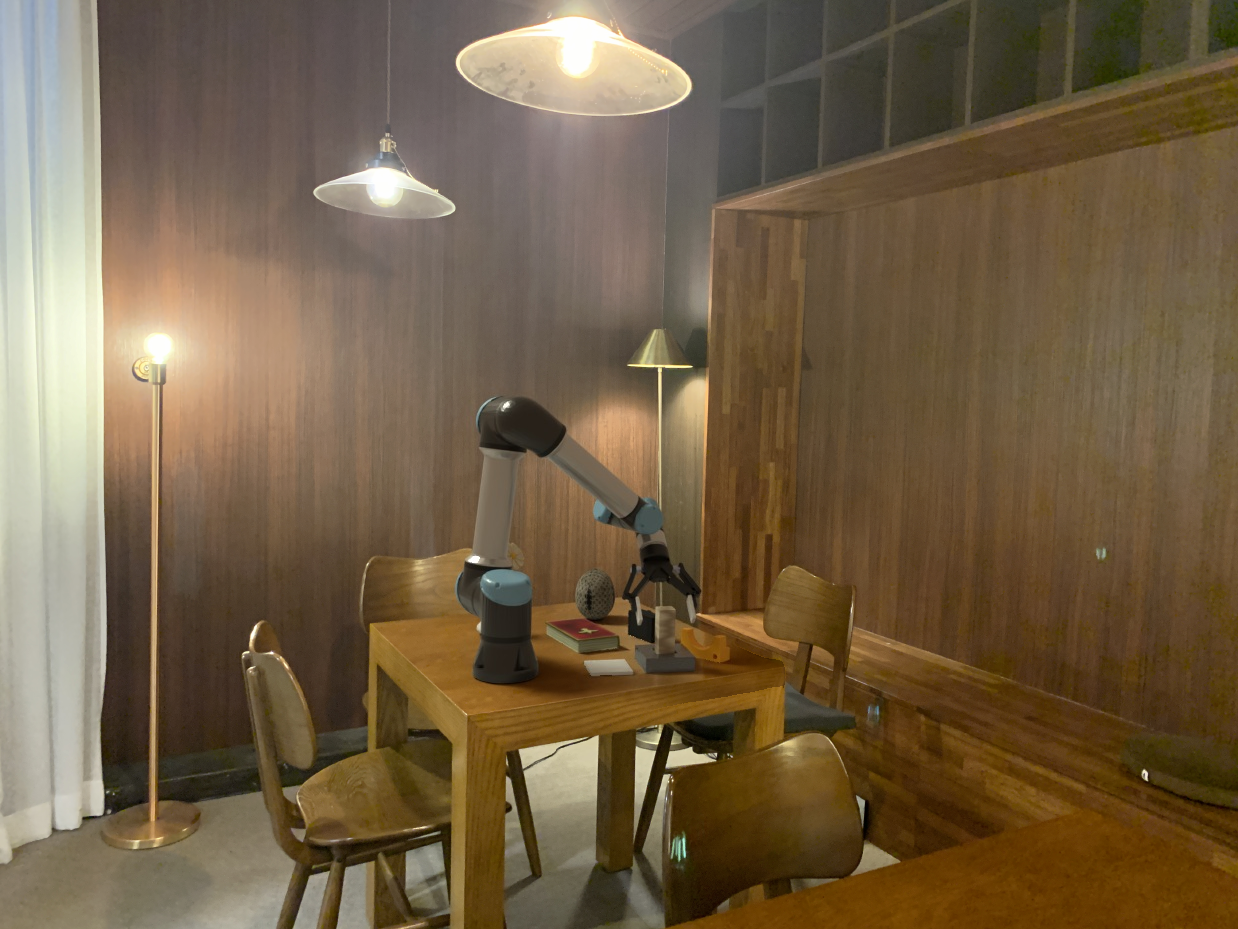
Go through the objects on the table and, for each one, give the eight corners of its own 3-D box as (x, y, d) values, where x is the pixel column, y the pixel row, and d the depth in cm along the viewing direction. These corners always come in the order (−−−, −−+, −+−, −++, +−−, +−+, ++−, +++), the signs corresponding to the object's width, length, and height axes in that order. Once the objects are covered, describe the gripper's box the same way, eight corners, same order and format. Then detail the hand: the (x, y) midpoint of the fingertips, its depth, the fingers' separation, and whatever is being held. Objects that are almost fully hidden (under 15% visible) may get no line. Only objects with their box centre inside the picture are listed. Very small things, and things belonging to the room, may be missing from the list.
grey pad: (590, 676, 207) (591, 673, 207) (584, 663, 217) (584, 660, 217) (633, 674, 209) (633, 671, 209) (624, 662, 219) (624, 659, 219)
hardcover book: (584, 631, 250) (584, 616, 250) (619, 650, 232) (620, 634, 231) (544, 635, 245) (545, 620, 244) (577, 655, 226) (578, 639, 226)
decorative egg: (619, 616, 266) (620, 566, 265) (607, 626, 255) (608, 573, 254) (582, 613, 269) (583, 563, 268) (568, 622, 258) (569, 570, 257)
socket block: (645, 673, 211) (646, 658, 211) (634, 658, 222) (635, 644, 222) (694, 671, 213) (695, 656, 213) (681, 657, 225) (681, 643, 225)
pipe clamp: (729, 660, 224) (730, 634, 223) (719, 663, 220) (720, 637, 220) (690, 650, 231) (691, 626, 231) (680, 654, 228) (681, 629, 228)
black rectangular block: (667, 640, 240) (667, 615, 240) (651, 643, 237) (652, 617, 237) (643, 632, 249) (644, 607, 248) (627, 635, 246) (628, 609, 245)
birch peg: (658, 667, 215) (659, 610, 215) (654, 662, 219) (655, 606, 218) (674, 667, 216) (675, 609, 215) (670, 662, 220) (671, 606, 219)
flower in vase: (486, 641, 236) (487, 547, 234) (469, 631, 245) (470, 541, 243) (531, 635, 242) (532, 544, 241) (513, 626, 252) (514, 538, 250)
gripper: (695, 557, 239) (711, 627, 226) (604, 559, 234) (615, 631, 221) (702, 541, 234) (719, 611, 220) (608, 542, 228) (620, 615, 215)
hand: (667, 621), depth 220 cm, fingers open, 13 cm apart
